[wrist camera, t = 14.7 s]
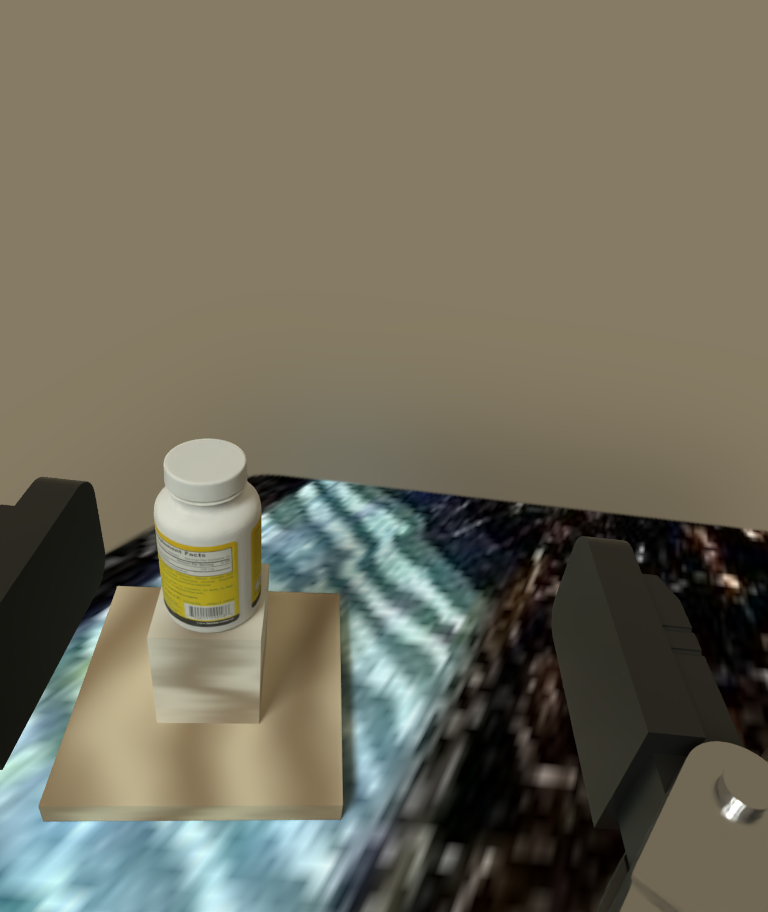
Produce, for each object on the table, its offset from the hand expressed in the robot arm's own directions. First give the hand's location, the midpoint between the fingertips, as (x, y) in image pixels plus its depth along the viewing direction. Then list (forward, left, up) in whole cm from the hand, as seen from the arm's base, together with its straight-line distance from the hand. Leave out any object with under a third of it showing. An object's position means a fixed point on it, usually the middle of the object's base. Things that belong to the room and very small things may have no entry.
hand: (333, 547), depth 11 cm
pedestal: (+5, -19, -31) cm, 37 cm away
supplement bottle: (+5, -19, -22) cm, 30 cm away
